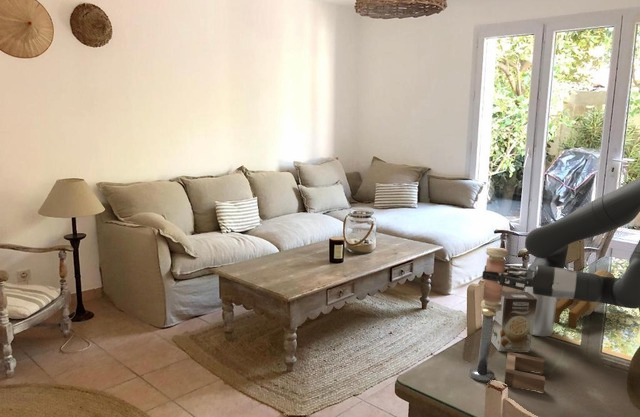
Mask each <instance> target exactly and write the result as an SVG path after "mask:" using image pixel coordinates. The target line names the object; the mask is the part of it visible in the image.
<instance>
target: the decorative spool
mask: <svg viewBox="0 0 640 417" xmlns="http://www.w3.org/2000/svg"><path fill="white" fill-rule="evenodd" d="M593 274H596V275H599V276H603V277H613V278H616V276H615V275H614V274H613V273H612V272H610V271H608V270H605V269H599V270H597V271H595V272H594V273H593ZM601 305H602V303H600V302H587V301H580V300H574V299H561V298H560V300H559V301H557V304H556V312H555V319H554V323H558V324H560V320H561V315H562V314H563V312H564V311H566V310H568V319H567V320H568V321H567V326H568V327H569V328H572V329H575V330H576V329H577V326H578V320H579V319H580V318H581V316H582V317H585V316H589V315H590V314H592V313H593V312H595V310H596V309H597V308H598V307H599V306H601Z"/></svg>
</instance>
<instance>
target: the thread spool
mask: <svg viewBox="0 0 640 417" xmlns="http://www.w3.org/2000/svg"><path fill="white" fill-rule="evenodd" d="M485 252H486V255H487V257H486V261H485V262H486V265H485V266H486V271H492V272H498V273H500V272H501V273H504V269H505V265H506V259H505V258H506V257H507V256H508V252H509V251H508V249H505V248H502V247H497V246H496V247H495V246H490V247H489V246H488V247H487V248H486V251H485ZM483 283H484V284H483V292H482V299H483V300H482V301H481V302H480V308H483V307H489V308H493V309H495V310H496V312H498V311H501V308H502V304H501V303H499V302H500V301H501V297H502V291H503V287H504V286H501V285H500V283H498V281H492V280H485V279H484V282H483Z"/></svg>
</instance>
